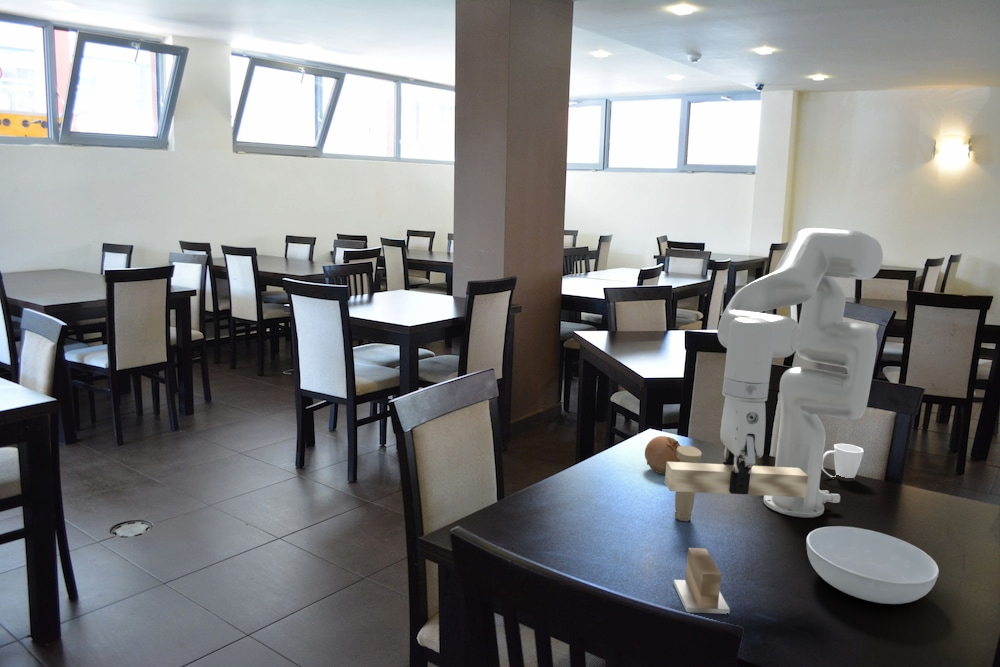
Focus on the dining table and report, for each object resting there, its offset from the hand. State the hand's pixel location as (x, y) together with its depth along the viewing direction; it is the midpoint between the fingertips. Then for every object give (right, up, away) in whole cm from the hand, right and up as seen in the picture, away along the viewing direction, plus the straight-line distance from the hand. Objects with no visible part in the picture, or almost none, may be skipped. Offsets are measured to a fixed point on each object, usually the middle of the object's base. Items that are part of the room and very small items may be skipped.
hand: (734, 487), depth 133 cm
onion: (-2, -7, +52) cm, 52 cm away
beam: (0, -1, 0) cm, 0 cm away
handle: (-3, -12, +24) cm, 27 cm away
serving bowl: (+23, -18, -1) cm, 29 cm away
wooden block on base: (-8, -17, -8) cm, 20 cm away
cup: (+42, -9, +52) cm, 68 cm away
